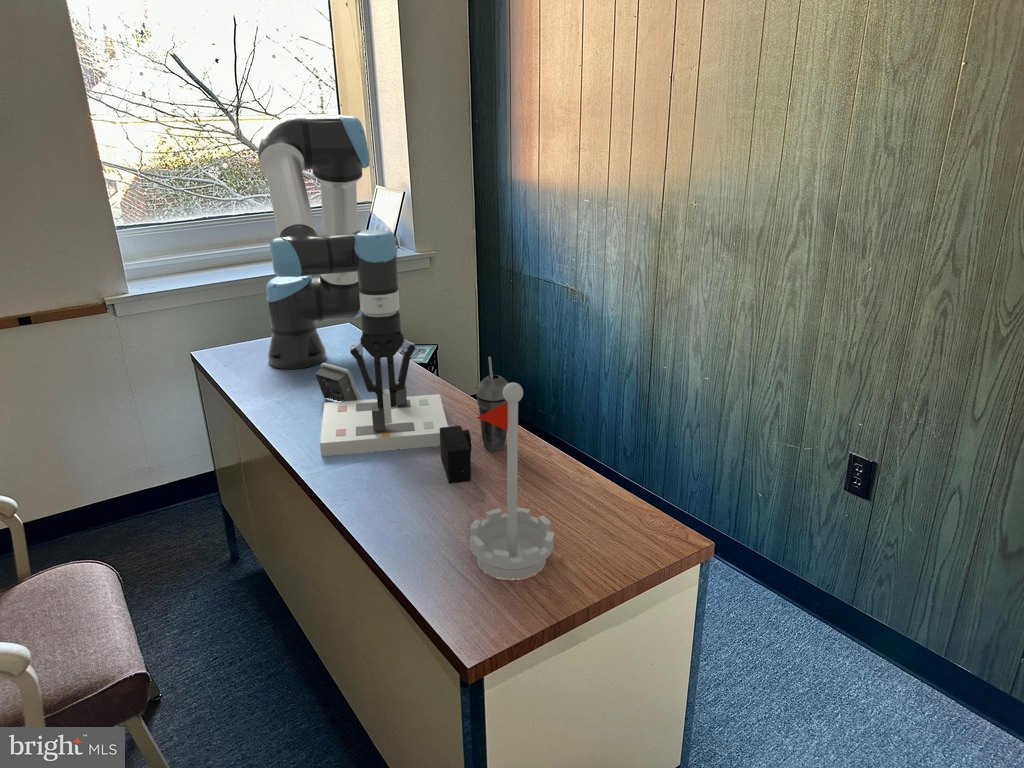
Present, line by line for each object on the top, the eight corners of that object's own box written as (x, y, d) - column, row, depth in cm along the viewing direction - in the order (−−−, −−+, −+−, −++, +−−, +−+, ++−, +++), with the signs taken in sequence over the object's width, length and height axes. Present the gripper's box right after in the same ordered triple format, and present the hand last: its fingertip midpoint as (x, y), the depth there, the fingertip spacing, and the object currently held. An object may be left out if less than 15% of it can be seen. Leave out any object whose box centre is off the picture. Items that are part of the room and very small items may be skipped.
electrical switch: (361, 402, 165) (355, 367, 160) (346, 411, 161) (339, 375, 157) (333, 393, 169) (327, 359, 165) (318, 402, 166) (311, 367, 161)
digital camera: (477, 481, 132) (476, 448, 129) (449, 484, 130) (448, 451, 128) (467, 455, 141) (466, 424, 138) (440, 458, 140) (439, 427, 137)
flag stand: (545, 532, 116) (550, 364, 105) (560, 582, 104) (567, 399, 93) (467, 537, 115) (464, 368, 103) (473, 588, 103) (469, 404, 91)
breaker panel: (325, 414, 158) (324, 402, 157) (439, 405, 163) (439, 393, 162) (321, 456, 140) (319, 442, 139) (450, 445, 145) (449, 431, 144)
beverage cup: (518, 445, 145) (519, 355, 137) (494, 457, 140) (494, 364, 132) (493, 434, 149) (493, 346, 142) (469, 445, 144) (467, 355, 137)
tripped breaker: (373, 424, 146) (371, 404, 144) (384, 423, 146) (383, 404, 144) (373, 430, 143) (371, 411, 141) (385, 429, 143) (383, 410, 141)
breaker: (395, 399, 157) (394, 381, 156) (406, 398, 158) (405, 380, 156) (396, 405, 154) (395, 386, 153) (407, 404, 155) (406, 386, 153)
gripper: (345, 319, 131) (356, 431, 140) (415, 315, 133) (421, 425, 142) (346, 308, 137) (356, 415, 146) (412, 304, 140) (418, 410, 149)
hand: (388, 420), depth 144 cm, fingers closed
